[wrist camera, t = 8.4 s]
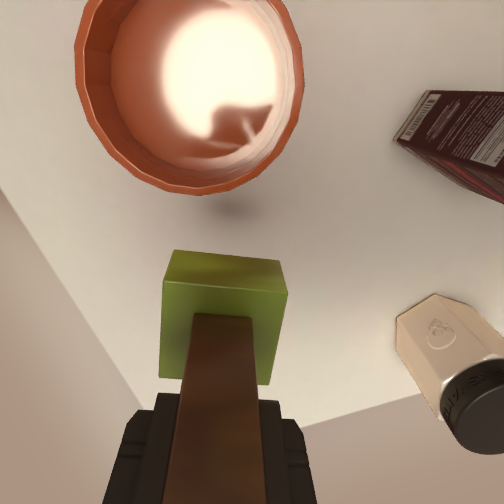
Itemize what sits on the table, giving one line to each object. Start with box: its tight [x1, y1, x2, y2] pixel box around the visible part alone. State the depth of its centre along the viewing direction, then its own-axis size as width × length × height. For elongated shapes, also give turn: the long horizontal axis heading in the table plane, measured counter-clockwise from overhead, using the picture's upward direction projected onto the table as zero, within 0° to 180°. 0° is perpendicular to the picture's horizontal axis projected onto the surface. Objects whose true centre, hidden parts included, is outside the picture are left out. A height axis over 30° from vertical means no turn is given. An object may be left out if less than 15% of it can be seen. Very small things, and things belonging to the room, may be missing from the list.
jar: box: [396, 294, 504, 455], centre depth 34 cm, size 9×8×12 cm
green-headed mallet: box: [159, 250, 288, 504], centre depth 13 cm, size 5×5×12 cm
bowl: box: [74, 0, 305, 196], centre depth 26 cm, size 14×14×6 cm
